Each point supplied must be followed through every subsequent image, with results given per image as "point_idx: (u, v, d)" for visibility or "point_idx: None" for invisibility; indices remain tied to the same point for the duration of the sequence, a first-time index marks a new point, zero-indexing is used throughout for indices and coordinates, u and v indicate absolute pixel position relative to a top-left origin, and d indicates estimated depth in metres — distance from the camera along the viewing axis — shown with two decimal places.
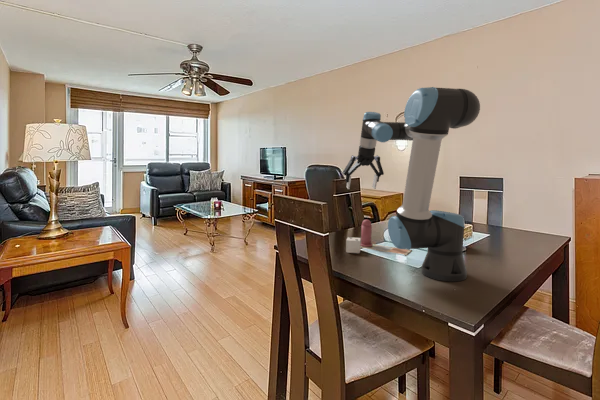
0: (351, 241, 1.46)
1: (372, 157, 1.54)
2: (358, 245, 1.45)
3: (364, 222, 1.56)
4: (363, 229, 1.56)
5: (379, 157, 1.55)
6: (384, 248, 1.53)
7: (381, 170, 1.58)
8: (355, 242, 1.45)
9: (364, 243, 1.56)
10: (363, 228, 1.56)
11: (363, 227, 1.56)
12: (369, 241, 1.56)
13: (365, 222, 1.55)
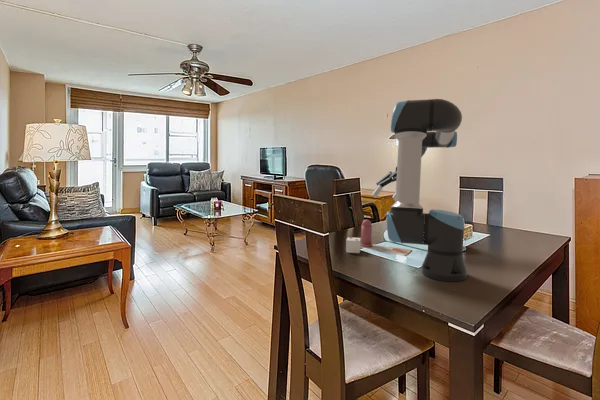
0: (351, 241, 1.46)
1: None
2: (358, 245, 1.45)
3: (364, 222, 1.56)
4: (363, 229, 1.56)
5: None
6: (384, 248, 1.53)
7: None
8: (355, 242, 1.45)
9: (364, 243, 1.56)
10: (363, 228, 1.56)
11: (363, 227, 1.56)
12: (369, 241, 1.56)
13: (365, 222, 1.55)
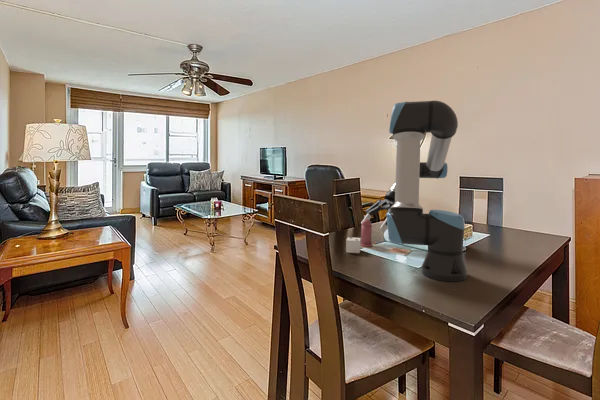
0: (351, 241, 1.46)
1: (392, 201, 1.61)
2: (358, 245, 1.45)
3: (364, 222, 1.56)
4: (363, 229, 1.56)
5: None
6: (384, 248, 1.53)
7: None
8: (355, 242, 1.45)
9: (364, 243, 1.56)
10: (363, 228, 1.56)
11: (363, 227, 1.56)
12: (369, 241, 1.56)
13: (365, 221, 1.55)
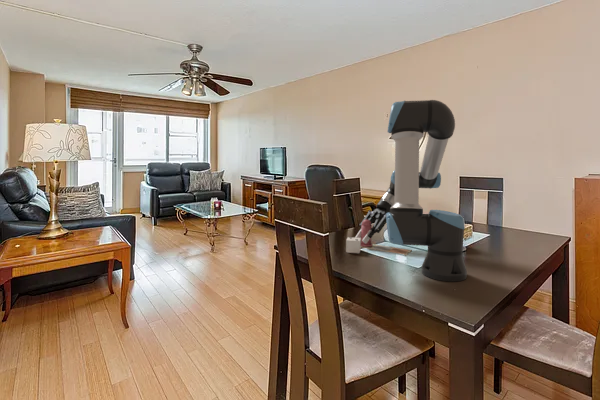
0: (351, 241, 1.46)
1: (384, 211, 1.58)
2: (358, 245, 1.45)
3: (364, 222, 1.56)
4: (363, 229, 1.56)
5: None
6: (384, 248, 1.53)
7: (378, 225, 1.54)
8: (355, 242, 1.45)
9: (364, 243, 1.56)
10: (363, 228, 1.56)
11: (363, 227, 1.56)
12: (369, 241, 1.56)
13: (365, 222, 1.55)
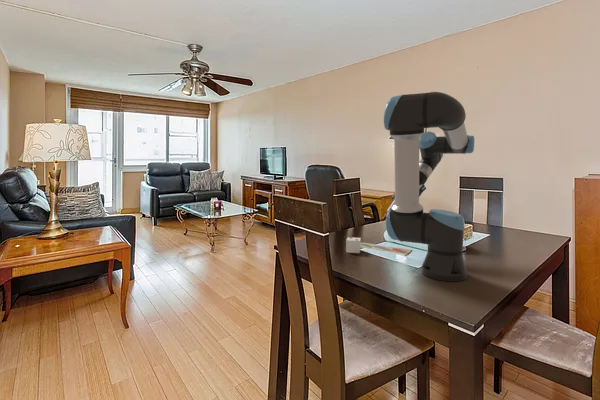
0: (351, 241, 1.46)
1: (419, 181, 1.47)
2: (358, 245, 1.45)
3: None
4: None
5: (423, 184, 1.44)
6: (384, 248, 1.53)
7: None
8: (355, 242, 1.45)
9: None
10: None
11: None
12: None
13: None
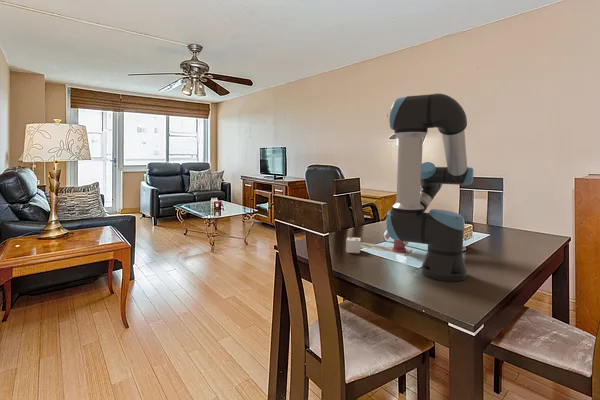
0: (351, 241, 1.46)
1: None
2: (358, 245, 1.45)
3: None
4: None
5: None
6: (384, 248, 1.53)
7: None
8: (355, 242, 1.45)
9: (397, 248, 1.47)
10: None
11: None
12: (403, 246, 1.47)
13: None
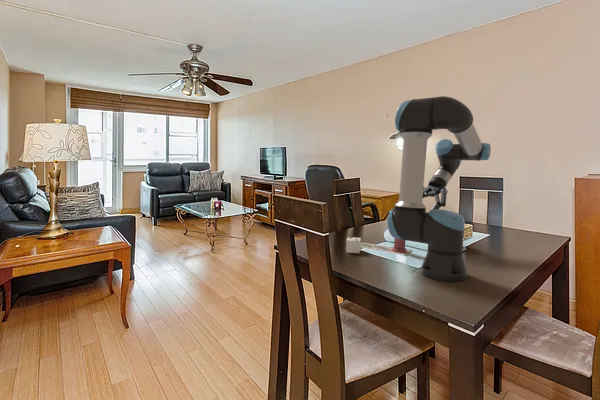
0: (351, 241, 1.46)
1: (438, 187, 1.54)
2: (358, 245, 1.45)
3: None
4: None
5: (444, 188, 1.51)
6: (384, 248, 1.53)
7: (442, 199, 1.47)
8: (355, 242, 1.45)
9: (397, 248, 1.47)
10: None
11: None
12: (403, 246, 1.47)
13: None
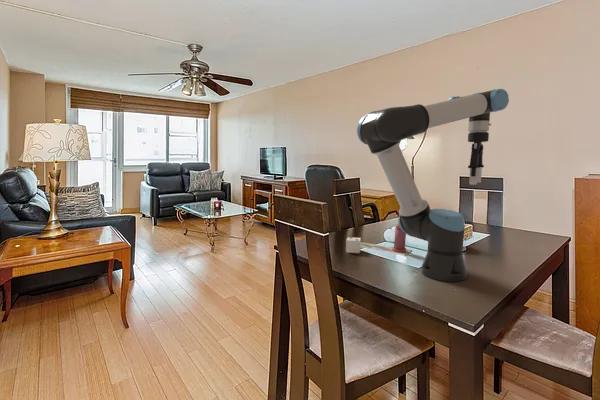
0: (351, 241, 1.46)
1: None
2: (358, 245, 1.45)
3: (398, 226, 1.46)
4: (397, 233, 1.47)
5: (472, 144, 1.31)
6: (384, 248, 1.53)
7: None
8: (355, 242, 1.45)
9: (397, 248, 1.47)
10: (397, 232, 1.46)
11: (397, 231, 1.46)
12: (402, 246, 1.47)
13: None
